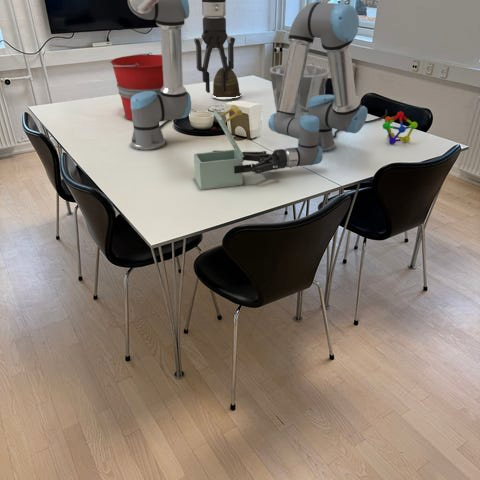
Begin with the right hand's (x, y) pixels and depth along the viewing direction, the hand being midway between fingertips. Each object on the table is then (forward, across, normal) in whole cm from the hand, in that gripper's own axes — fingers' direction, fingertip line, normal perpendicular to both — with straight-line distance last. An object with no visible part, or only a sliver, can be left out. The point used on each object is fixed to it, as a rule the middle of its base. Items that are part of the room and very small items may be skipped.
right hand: (230, 164), depth 170 cm
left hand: (+5, 0, +28) cm, 28 cm away
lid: (+1, 0, +12) cm, 12 cm away
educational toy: (-87, +19, -7) cm, 90 cm away
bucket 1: (+20, +98, -7) cm, 100 cm away
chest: (+5, 0, -7) cm, 8 cm away
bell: (-33, +123, -7) cm, 128 cm away
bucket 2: (-52, +58, -7) cm, 78 cm away
